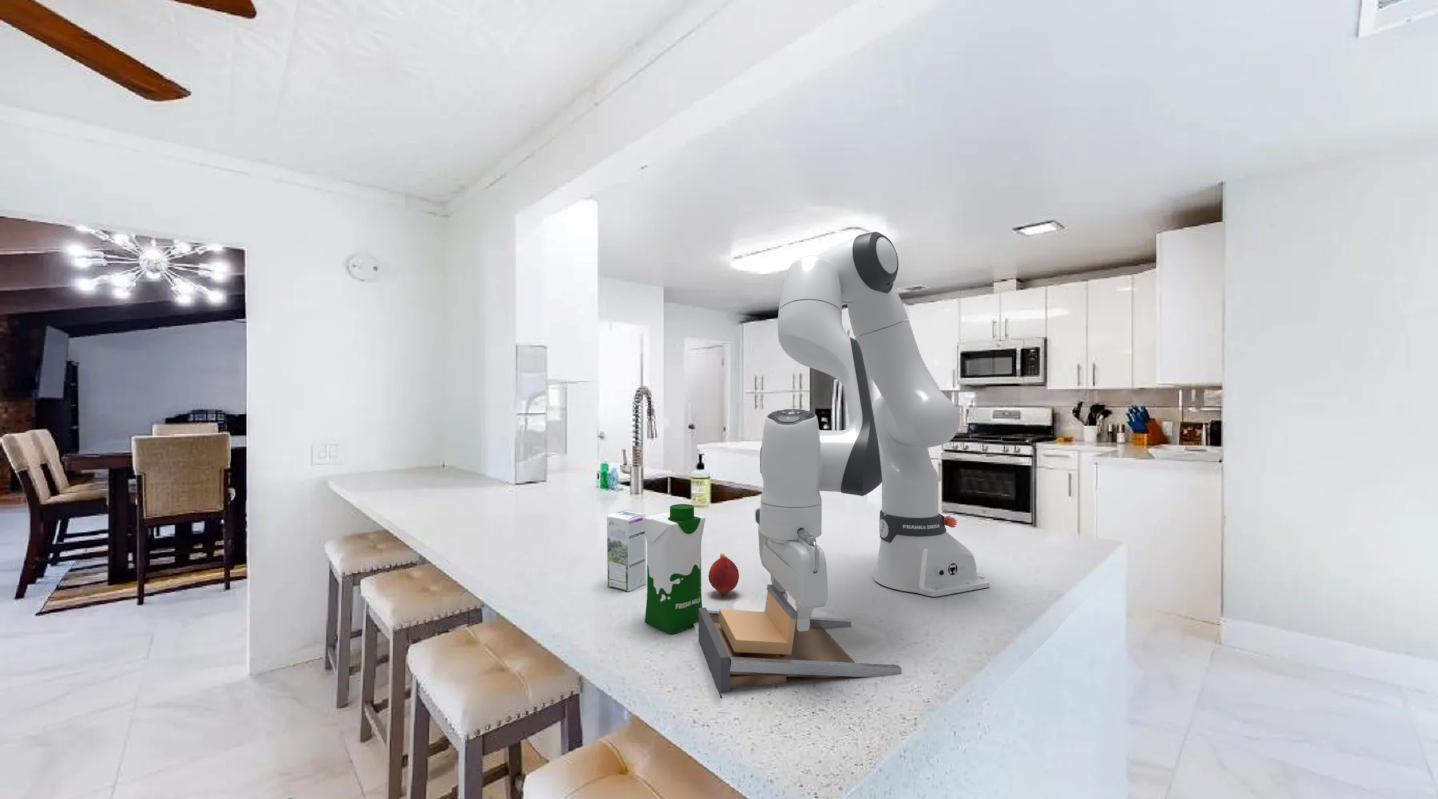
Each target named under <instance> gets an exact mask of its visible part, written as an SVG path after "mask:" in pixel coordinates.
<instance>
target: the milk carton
mask: <svg viewBox="0 0 1438 799" xmlns="http://www.w3.org/2000/svg"><path fill="white" fill-rule="evenodd" d="M645 516H646V515H645ZM642 519H643V524H644V529H645V534H646V588H647V589H646V592H647V593H646V603H645V617H644V623H646V624H648V625H650V626H652V627H655V628H656V629H659V630H661V631H663V632H665V633H667V634H669V635H670V636H671V635H674V634H677V633H680V632H682V631H685V630H688V629H690V628H693V627H694V626H695V623H697V622H698V608H703V600H702V599H703V597H702V539H703V534H704V533H703V532H704V528H705V524H706V517H705V516H702V515H698V514H695V506H694V505H693V504H689V503H688V504H687V503H677V504H672V505H670V506H669V511H668V512H662V513H656V514H651V515H647V516H646V517H642Z"/></svg>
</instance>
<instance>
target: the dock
mask: <svg viewBox="0 0 1438 799" xmlns="http://www.w3.org/2000/svg"><path fill="white" fill-rule="evenodd" d="M718 617H719V610H708V608H707V607H702V608H698V621H697V622H698V643H699V646H700V649H701V651H702V654H703V656H704V660H705V661H706V662H705V663H706V664H707V667H708V670H709V672H710V674H711V677H712V680H713V682H714V685H715V689H716V690H717V692H718V695H719V698H720V699H723V695H722V694H726V693H730V692H731V689H733V688H734V689H735V688H744V687H751V686H752V687H753V686H762V685H773V684H781V683H787V677H793V678H794V677H797V678H798V677H799V678H818V679H819V678H821V679H827V678H837V677H853V678H855V677H856V678H857V677H858V678H859V677H860V678H873V677H874V678H875V677H882V676H883V677H884V676H891V675H892V676H893V675H901V674H902V667H901V666H900V665H899V664H890V663H889V664H887V663H884V664H883V663H871V662H870V663H866V662H865V663H864V662H855V660H853V659H852V658H851V656H850V655H849V654H848V653H847V652H846V651H845V650H844V649H843V648H842V647H841V645H839V643H838V642H837V641H836V640H835V639H834V638H833V637H832V636H831V635H830V633H828V632H827V630H825V629H834V628H835V629H836V628H846V627H852V621H851V620H850V619H847V618H846V619H845V618H832V617H817V616H811V617H810V628H809V630H808V631H798V630H797V629H796V627H795V631H794V638H793V646H792V653H791V655H788V654H787V655H786V656H785V657H780V656H779V654H767V653H747V652H742V653H741V654H740V655H736V654H735V653H734V650H733V648H732V646H731V644H730V642H729V640H728V638H727V636H726V634H725V632H724V630H723V629H722V628H721V624H720V622H719V620H718Z"/></svg>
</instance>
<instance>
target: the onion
mask: <svg viewBox="0 0 1438 799" xmlns="http://www.w3.org/2000/svg"><path fill="white" fill-rule="evenodd" d="M739 578H740V573H739V569H738V567H737V565H736V563H735V562H733V561H732V560H731V559H730V558H729V557H727V556H726V554H725V553H720V554H719V558H718V559H717V560H716V561H714V562H713V563H712V564H711V566H710V569H709V571H708V582H709V584H710V585H711V586H712V588H714V590H716V592H718V594H719V595H721V596H725V595H727V594H729V593H730V592H732V591H733V590H734V589H736V587H737V585H738V583H739Z"/></svg>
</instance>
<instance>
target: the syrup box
mask: <svg viewBox="0 0 1438 799" xmlns="http://www.w3.org/2000/svg"><path fill="white" fill-rule="evenodd" d="M606 516H607V517H606V536H607V537H606V541H607V542H606V544H607V545H606V546H607V549H606V550H607V552H606V554H607V562H606V563H607V566H606V567H607V569H606V570H607V587H608V588H613V589H616V590H621V591H625V592H631V591H634V590H637V589H639V588H640V587H643V586H645V585H647V540H646V534H645V529H644V524H643V519H642V517H646V514H645V513H641V512H635V511H628V510H622V511H621V510H620V511H617V512H614V513H611V514H609V515H606Z"/></svg>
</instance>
